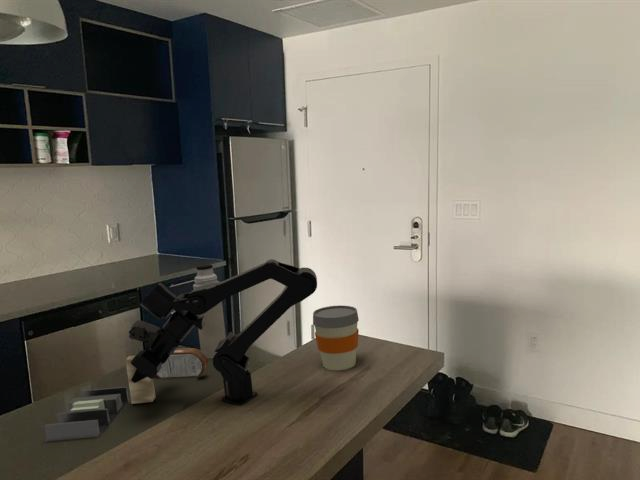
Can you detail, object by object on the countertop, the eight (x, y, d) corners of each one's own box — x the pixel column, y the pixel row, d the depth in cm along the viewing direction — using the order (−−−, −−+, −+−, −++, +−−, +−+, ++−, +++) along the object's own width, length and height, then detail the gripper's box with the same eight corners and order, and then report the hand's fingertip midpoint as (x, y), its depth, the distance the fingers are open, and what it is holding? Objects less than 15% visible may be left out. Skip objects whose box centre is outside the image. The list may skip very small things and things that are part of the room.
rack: (131, 403, 123) (128, 386, 122) (101, 440, 106) (98, 420, 105) (82, 407, 123) (80, 390, 122) (45, 445, 105) (41, 425, 105)
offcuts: (105, 415, 115) (103, 397, 115) (99, 423, 112) (96, 404, 111) (80, 417, 115) (77, 399, 115) (72, 425, 112) (69, 407, 111)
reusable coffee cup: (320, 356, 144) (315, 306, 143) (363, 355, 143) (359, 304, 141) (313, 373, 132) (308, 319, 130) (360, 372, 130) (356, 317, 128)
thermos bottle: (212, 348, 160) (202, 262, 156) (232, 350, 156) (222, 262, 153) (196, 357, 153) (185, 267, 149) (217, 359, 149) (206, 267, 146)
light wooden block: (155, 397, 122) (149, 354, 120) (152, 401, 119) (146, 357, 118) (135, 399, 122) (129, 356, 120) (131, 403, 119) (125, 359, 118)
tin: (209, 375, 137) (206, 346, 136) (205, 380, 134) (202, 350, 133) (157, 377, 139) (153, 348, 138) (152, 382, 136) (148, 352, 135)
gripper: (159, 300, 127) (122, 345, 128) (134, 320, 109) (91, 373, 110) (194, 327, 128) (156, 372, 129) (174, 352, 110) (131, 404, 111)
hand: (135, 379), depth 120 cm, fingers closed on light wooden block, 2 cm apart
